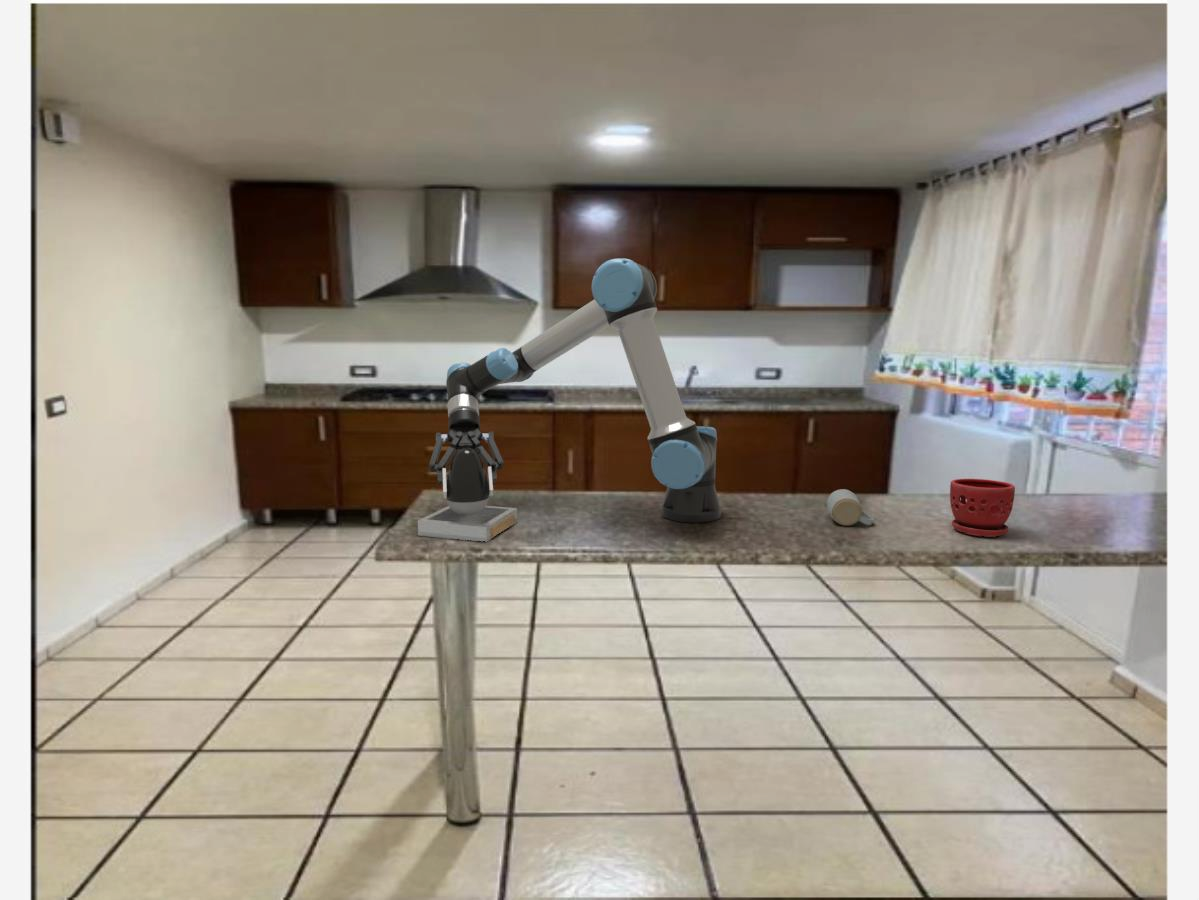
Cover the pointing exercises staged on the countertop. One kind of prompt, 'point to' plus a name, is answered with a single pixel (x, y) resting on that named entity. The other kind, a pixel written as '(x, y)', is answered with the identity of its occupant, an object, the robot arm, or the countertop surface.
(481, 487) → the black rounded piece
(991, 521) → the plant pot
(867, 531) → the countertop surface
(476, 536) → the flat gray box
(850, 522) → the ceramic mug
